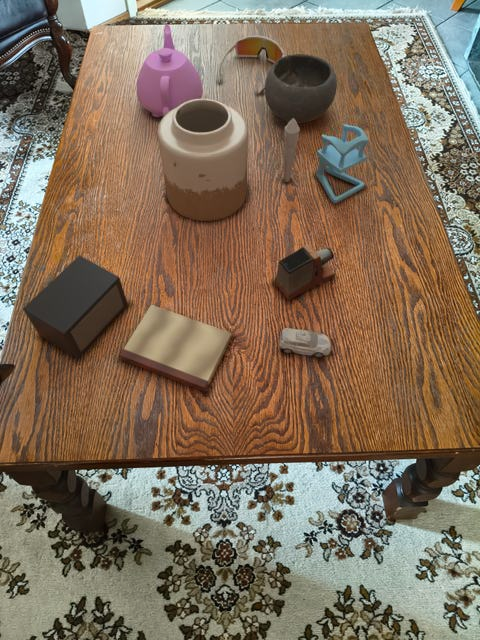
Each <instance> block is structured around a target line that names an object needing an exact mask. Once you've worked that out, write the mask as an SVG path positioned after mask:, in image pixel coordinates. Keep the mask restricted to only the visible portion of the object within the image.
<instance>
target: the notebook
mask: <svg viewBox="0 0 480 640" xmlns="http://www.w3.org/2000/svg"><path fill="white" fill-rule="evenodd" d="M232 335H233V334H232V332H230V331H228V330H224V329H222V328H219V327H216V326H213V325H210V324H207V323H205V322H201V321H200V320H196V319H193V318H191V317H187V316H185V315H182V314H179V313H176V312H174V311H170V310H169V309H165V308H162V307H159V306H157V305H154V304H150V306H149V307H148V309H147V310H146V312H145V313H144V315H143V317H142V318H141V320H140V322H139V323H138V325H137V326H136V327H135V329H134V331H133V332H132V335H131V336H130V338H129V340H128V341H127V343H126V344H125V346H124V347H123V348H122V349H121V351H120V353H119V355H118V356H119V358H120V361H123V362H126V363H128V364H130V365H133V366H136V367H138V368H141V369H143V370H146V371H149V372H151V373H154V374H157V375H158V376H162V377H165V378H166V379H168V380H169V379H170V380H172V381H175V382H177V383H179V384H181V385H184V386H188V387H190V388H193V389H195V390H198V391H201V392H203V393H206V391H207V390H208V388H209V385H210V383H211V381H212V379H213V377H214V375H215V373H216V371H217V369H218V367H219V364H220V363H221V361H222V358H223V356H224V355H225V353H226V350H227V348H228V346H229V344H230V342H231V340H232V337H233V336H232Z"/></svg>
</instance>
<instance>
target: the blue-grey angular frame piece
mask: <svg viewBox="0 0 480 640" xmlns="http://www.w3.org/2000/svg"><path fill="white" fill-rule="evenodd" d="M342 128H343V130H342V134H341V139H340V138H338V137H336V136H332V135H326V134H321V140H322V142H321V143H322V148H321V149H319V150H317V151H316V156H317V157H318V166H317V170H316V173H315V176H316V178H317V179H318V181H319V182H320V184H321V185H322V187H323V189H324V191H325V192H326V195H327V196H328V198H329V199H330V201H331V202H332V203H333V204H337V203H340V202H341V201H343V200H345V199H346V198H348V197H351V196H352V195H354V194H356V193H357V192H359V191H362V190H363V189H364V188H365V182H364V181H362V180H360V179H358V178H356V177H353V176H351V175H348V174H347V173H345V172H346V171H348V170H349V169H351V168H354V167H355V166H357V165H360V164H362V163H363V162H366V161H367V158H368V156H367V155H366V154H364V150H365V148H366V147H367V145H368V143H369V142H370V139H369V137H368V136H367V134H366V132H365V131H364V130H363V129H362V128H361V127H359V126H356V125H349V124H346V123H343V124H342ZM348 132H352V133H354V134H355V135H357V137H354V138H353V139H351V140H350V141H347V133H348ZM328 144H330V145H328ZM358 148H359V149H358ZM324 172H326V173H328V174H330V175H331V176H334V177H336V178H338V179H340V180H342V181H345V182H347V183H350V184H352V185H354V187H352V188H350V189H349V190H346V191H344V192H343V193H341V194H339V195H337V196H336V195H335V192H333V190H332V187H331V185H330V184H329V182H328V179H327V178H326V176H325V173H324Z"/></svg>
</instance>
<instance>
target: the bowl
mask: <svg viewBox="0 0 480 640" xmlns="http://www.w3.org/2000/svg"><path fill="white" fill-rule="evenodd" d="M264 86H265V90H264V96H265V100H266V104H267V106H268V108H269V110H270V111H271V112H272V113H273V114H274V115H275V116H276V117H277V118H279V119H281V120H283V121H286V122H288V123H289V122H290V121H291V120H292V119H293V118H294V119H295V120H296V122H297V124H301V123H302V124H303V123H307V122H311V121H314V120H316V119H318V118H320V117H321V116H323V114H325V113H326V112H327V110H329V108H330V107H331V106H332V104H333V102H334V101H335V98H336V95H337V87H338V80H337V75H336V72H335V69H334V68H333V66H332V65H331V64H330V63H329V62H328V61H326V59H324V58H321V57H319V56H315V55H312V54H306V53H293V54H287V55H285V56H284V57H282V58H280V59H278V60H277V61H276V62H275V63H273V64H272V65H270V68H269V70H268V72H267V74H266V78H265V82H264Z"/></svg>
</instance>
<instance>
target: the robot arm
mask: <svg viewBox="0 0 480 640" xmlns="http://www.w3.org/2000/svg"><path fill="white" fill-rule="evenodd" d="M15 368H16V365H15V364H13V363H0V388H1V387H2V384H3V382H5V380H6V379H7V378H9V377H10V376H11V375H12V374H13V373H14V371H15Z"/></svg>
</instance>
